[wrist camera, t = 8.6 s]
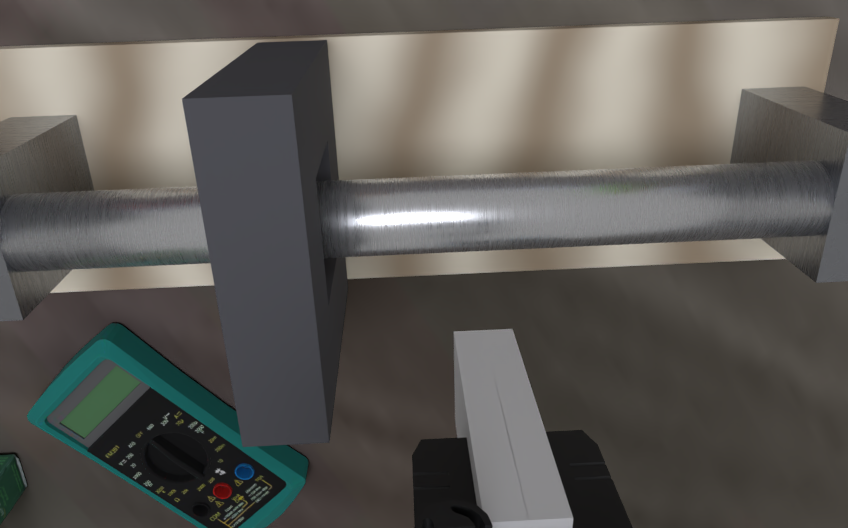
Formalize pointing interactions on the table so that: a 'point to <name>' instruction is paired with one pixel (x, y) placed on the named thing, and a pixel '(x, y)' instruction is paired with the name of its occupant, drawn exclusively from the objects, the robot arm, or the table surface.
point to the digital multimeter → (166, 435)
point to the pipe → (449, 203)
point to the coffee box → (10, 483)
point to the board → (443, 116)
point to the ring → (272, 235)
